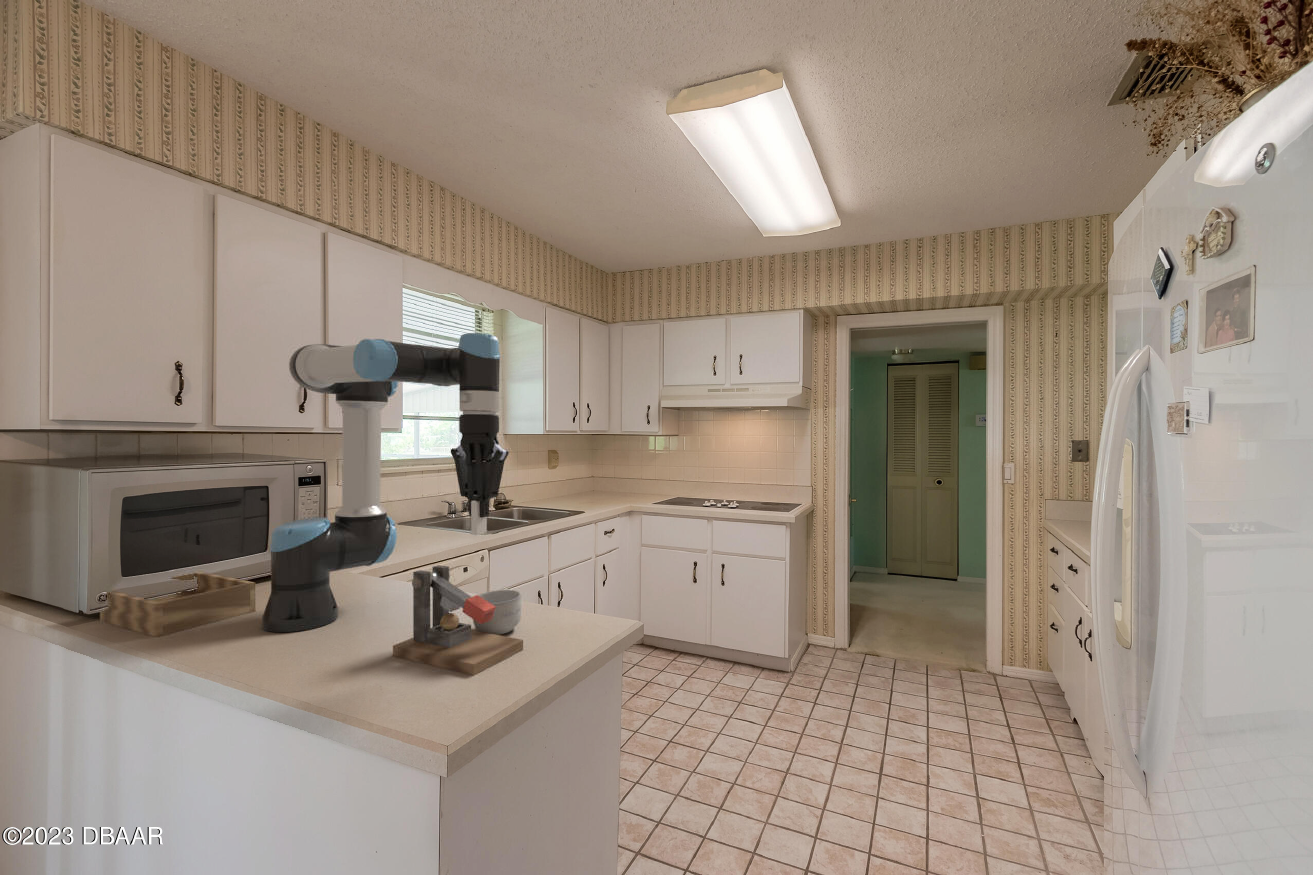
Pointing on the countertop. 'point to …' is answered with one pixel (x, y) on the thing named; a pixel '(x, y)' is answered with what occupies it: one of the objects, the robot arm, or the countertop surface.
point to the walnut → (449, 622)
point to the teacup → (501, 611)
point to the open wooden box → (182, 606)
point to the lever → (461, 600)
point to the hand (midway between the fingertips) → (478, 533)
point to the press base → (449, 635)
